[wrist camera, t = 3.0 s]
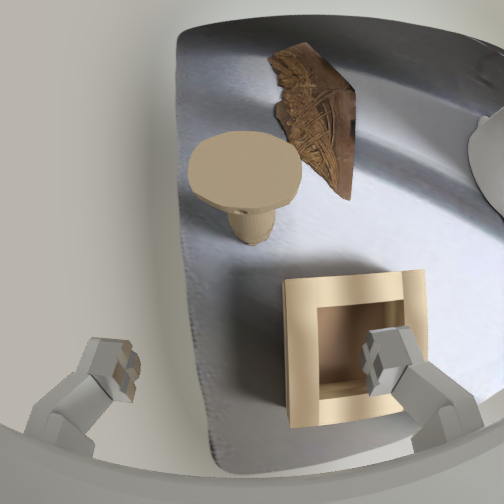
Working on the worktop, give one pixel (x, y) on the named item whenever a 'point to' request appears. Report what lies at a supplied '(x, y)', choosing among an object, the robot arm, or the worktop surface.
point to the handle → (246, 179)
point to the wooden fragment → (317, 114)
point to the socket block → (343, 341)
